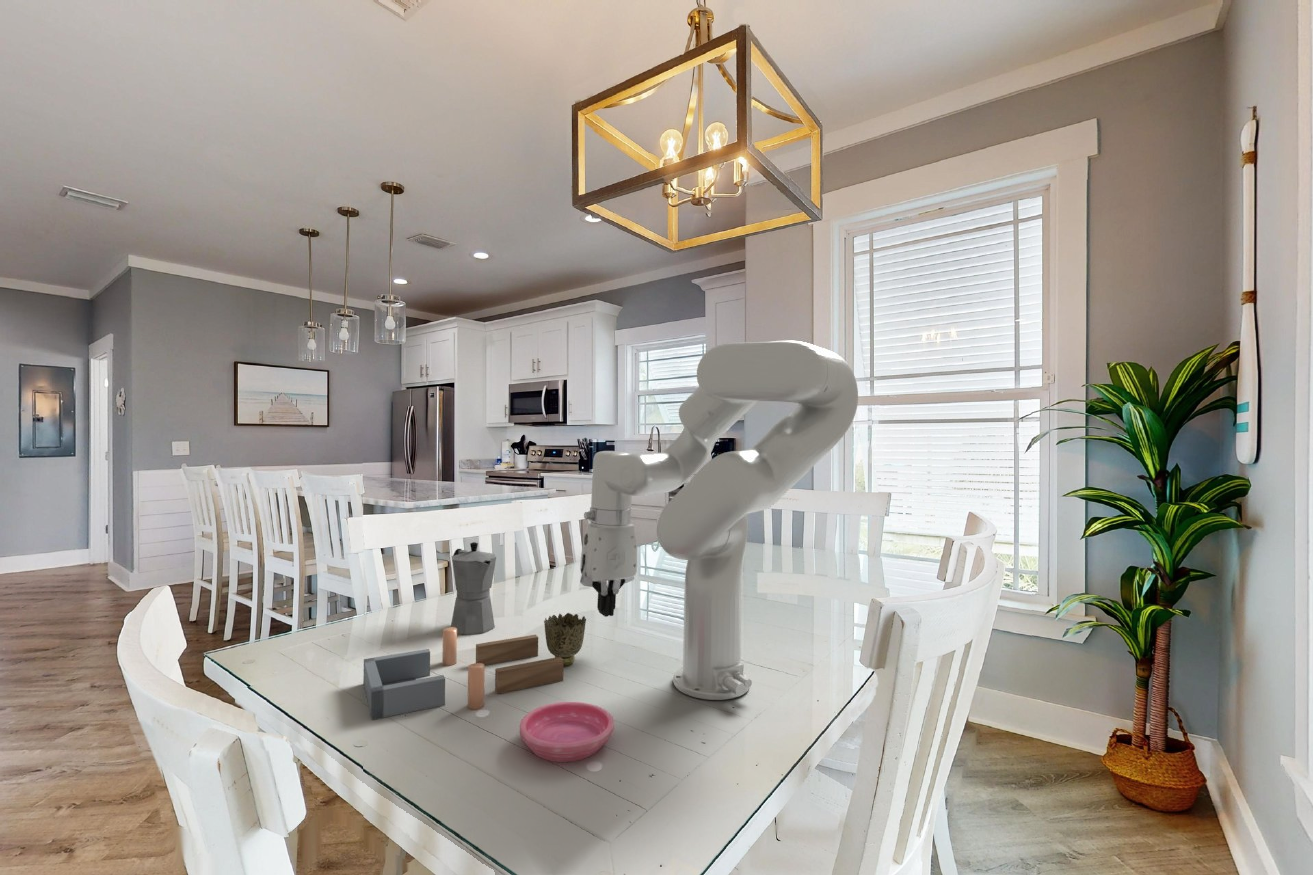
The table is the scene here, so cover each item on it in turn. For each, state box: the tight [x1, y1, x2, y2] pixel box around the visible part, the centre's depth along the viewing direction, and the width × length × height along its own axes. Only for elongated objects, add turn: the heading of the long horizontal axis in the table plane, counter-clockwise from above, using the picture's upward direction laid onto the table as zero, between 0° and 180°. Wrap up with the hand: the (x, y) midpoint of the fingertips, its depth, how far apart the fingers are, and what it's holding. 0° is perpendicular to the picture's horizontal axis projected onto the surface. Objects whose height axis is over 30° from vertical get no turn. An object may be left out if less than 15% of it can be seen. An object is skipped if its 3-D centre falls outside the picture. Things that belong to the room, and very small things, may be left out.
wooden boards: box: [475, 634, 564, 695], centre depth 103 cm, size 14×11×4 cm
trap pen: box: [362, 648, 446, 721], centre depth 94 cm, size 14×10×4 cm
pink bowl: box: [519, 701, 615, 763], centre depth 80 cm, size 12×12×3 cm
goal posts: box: [441, 626, 486, 710], centre depth 99 cm, size 21×2×6 cm, turn 30°
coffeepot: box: [450, 541, 497, 636], centre depth 127 cm, size 15×9×18 cm, turn 44°
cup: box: [543, 612, 587, 667], centre depth 108 cm, size 8×7×8 cm
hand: (606, 613), depth 113 cm, fingers closed
